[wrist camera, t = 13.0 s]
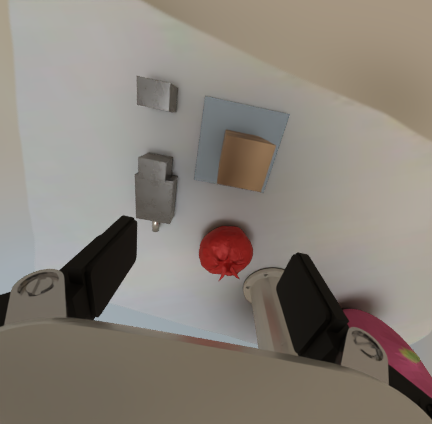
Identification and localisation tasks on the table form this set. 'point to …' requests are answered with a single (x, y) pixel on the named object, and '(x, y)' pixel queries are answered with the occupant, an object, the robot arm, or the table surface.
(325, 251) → the table surface
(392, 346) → the pink dragon fruit
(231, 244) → the pomegranate
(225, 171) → the walnut peg
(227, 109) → the pad
